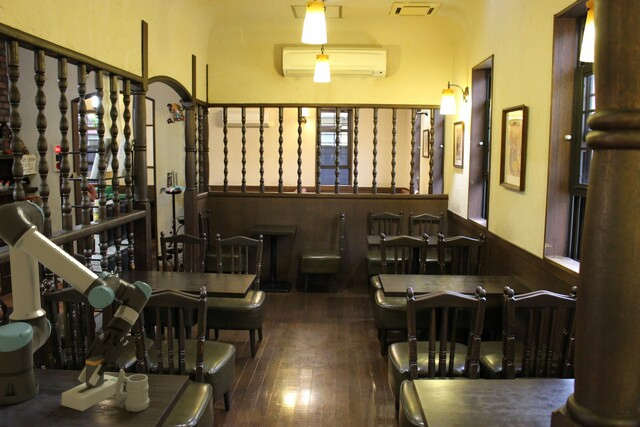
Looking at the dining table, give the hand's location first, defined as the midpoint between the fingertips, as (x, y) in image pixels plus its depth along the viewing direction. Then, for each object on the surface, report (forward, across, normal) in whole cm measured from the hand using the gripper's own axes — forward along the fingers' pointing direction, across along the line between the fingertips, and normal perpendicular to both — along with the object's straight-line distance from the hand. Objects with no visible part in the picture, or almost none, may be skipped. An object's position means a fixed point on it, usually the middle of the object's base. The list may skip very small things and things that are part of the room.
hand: (86, 382), depth 174 cm
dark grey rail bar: (-5, 0, -14) cm, 15 cm away
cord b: (-7, -1, -16) cm, 17 cm away
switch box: (+2, 0, -7) cm, 7 cm away
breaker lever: (-1, 0, -4) cm, 4 cm away
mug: (+2, -16, -8) cm, 17 cm away
